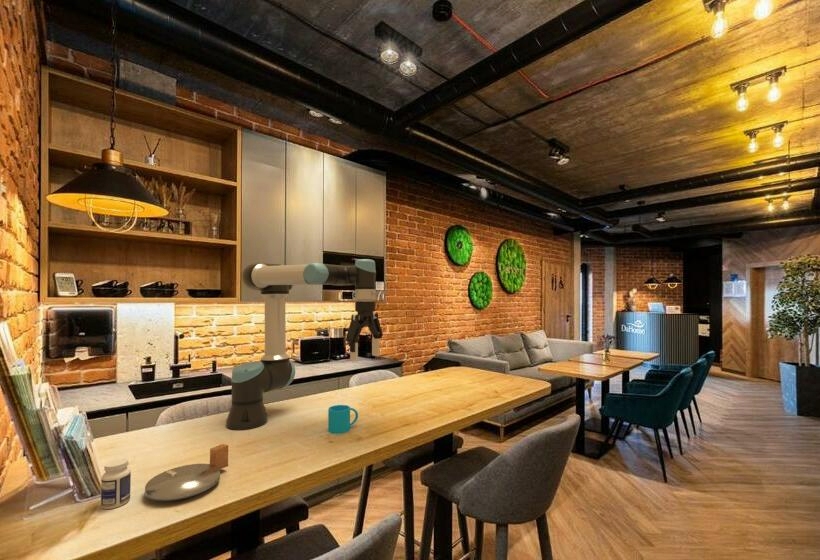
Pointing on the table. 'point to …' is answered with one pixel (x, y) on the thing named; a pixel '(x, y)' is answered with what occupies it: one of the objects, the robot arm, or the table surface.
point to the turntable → (188, 478)
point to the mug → (340, 419)
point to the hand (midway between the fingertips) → (365, 358)
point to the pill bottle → (115, 484)
